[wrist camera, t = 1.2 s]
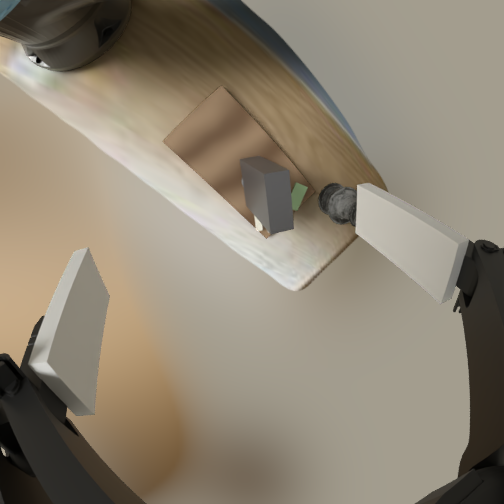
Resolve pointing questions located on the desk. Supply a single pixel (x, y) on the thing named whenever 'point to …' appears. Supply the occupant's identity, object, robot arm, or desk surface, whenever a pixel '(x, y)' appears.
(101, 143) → the desk surface
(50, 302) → the robot arm
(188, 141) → the board
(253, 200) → the grey block
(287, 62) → the desk surface
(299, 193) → the dial marks
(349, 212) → the dark grey chess piece
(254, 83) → the desk surface
